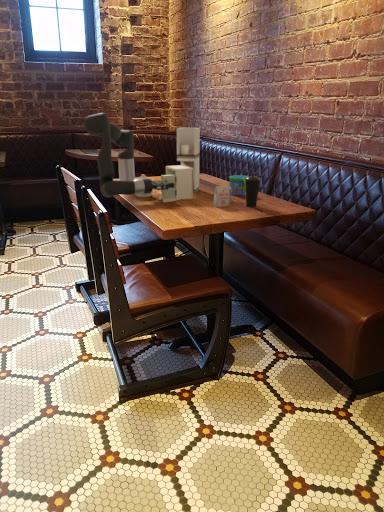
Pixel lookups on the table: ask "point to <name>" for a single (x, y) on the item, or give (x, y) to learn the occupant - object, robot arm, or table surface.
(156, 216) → the table surface
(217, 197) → the white milk carton
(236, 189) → the snack cup
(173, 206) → the table surface
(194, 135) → the display case
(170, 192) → the door
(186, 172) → the cabinet
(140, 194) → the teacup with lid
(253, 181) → the drinking cup
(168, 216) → the table surface
